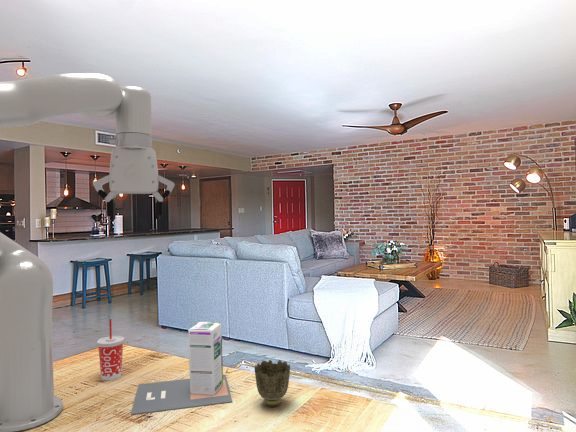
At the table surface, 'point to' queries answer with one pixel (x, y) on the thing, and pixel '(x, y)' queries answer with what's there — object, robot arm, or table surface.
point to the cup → (272, 381)
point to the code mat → (175, 396)
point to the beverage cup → (110, 355)
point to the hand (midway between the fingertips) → (135, 219)
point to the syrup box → (205, 358)
